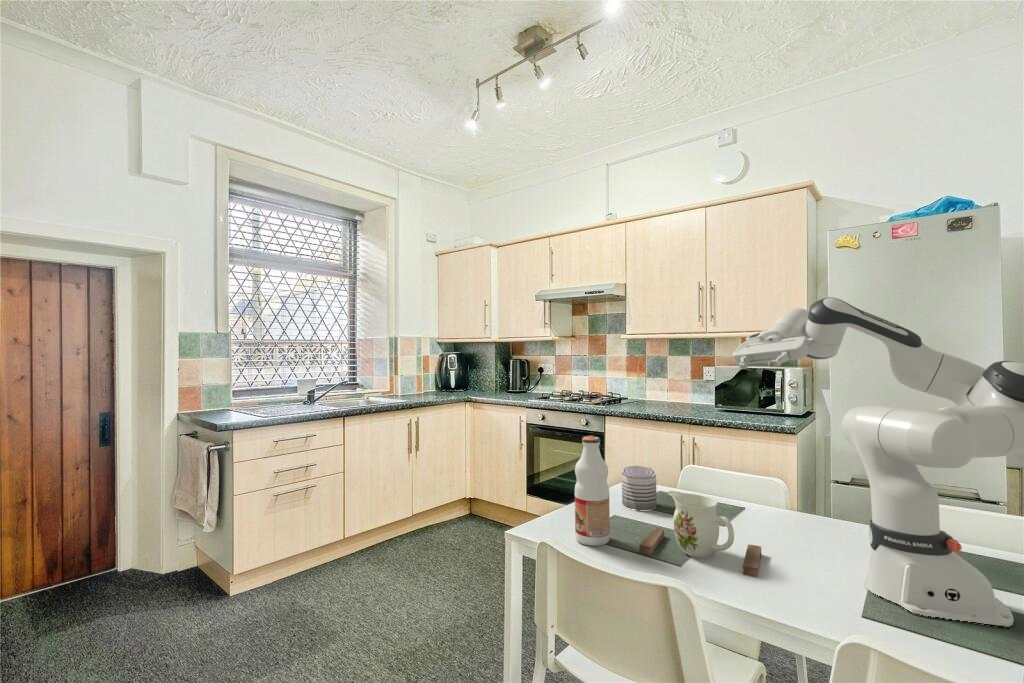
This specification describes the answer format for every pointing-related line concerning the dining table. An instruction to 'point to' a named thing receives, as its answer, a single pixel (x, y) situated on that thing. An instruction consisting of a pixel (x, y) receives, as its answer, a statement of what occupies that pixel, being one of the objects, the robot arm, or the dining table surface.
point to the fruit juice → (592, 496)
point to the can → (639, 488)
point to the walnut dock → (750, 560)
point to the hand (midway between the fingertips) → (758, 365)
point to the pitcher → (698, 525)
